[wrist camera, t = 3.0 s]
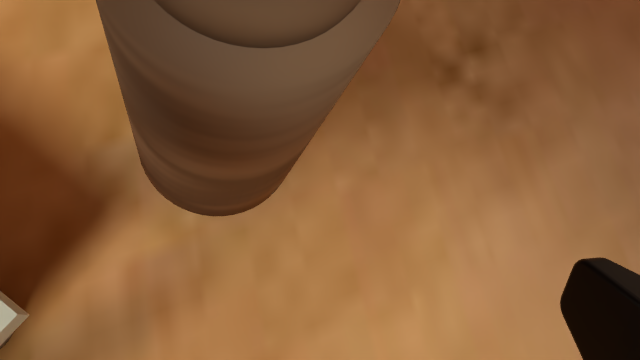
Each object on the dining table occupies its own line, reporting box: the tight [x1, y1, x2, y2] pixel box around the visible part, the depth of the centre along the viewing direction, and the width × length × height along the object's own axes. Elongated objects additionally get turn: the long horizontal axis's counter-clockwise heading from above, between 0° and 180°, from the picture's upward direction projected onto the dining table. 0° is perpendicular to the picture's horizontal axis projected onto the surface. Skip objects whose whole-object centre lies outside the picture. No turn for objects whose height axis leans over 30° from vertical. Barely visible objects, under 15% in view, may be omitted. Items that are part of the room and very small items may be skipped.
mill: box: [96, 0, 400, 216], centre depth 14 cm, size 6×6×15 cm
